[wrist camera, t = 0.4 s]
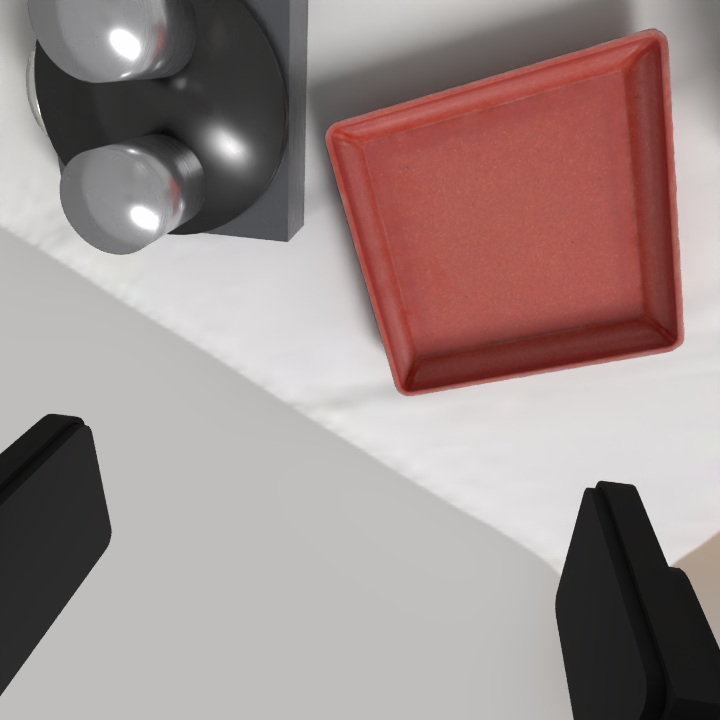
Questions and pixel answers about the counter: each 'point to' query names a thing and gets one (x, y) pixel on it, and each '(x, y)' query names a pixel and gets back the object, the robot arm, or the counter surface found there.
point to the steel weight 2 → (132, 192)
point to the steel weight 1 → (116, 37)
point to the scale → (206, 114)
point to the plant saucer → (520, 218)
